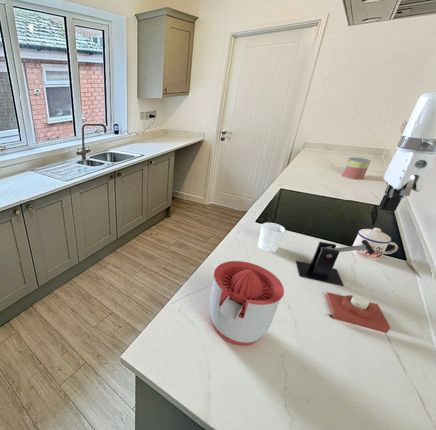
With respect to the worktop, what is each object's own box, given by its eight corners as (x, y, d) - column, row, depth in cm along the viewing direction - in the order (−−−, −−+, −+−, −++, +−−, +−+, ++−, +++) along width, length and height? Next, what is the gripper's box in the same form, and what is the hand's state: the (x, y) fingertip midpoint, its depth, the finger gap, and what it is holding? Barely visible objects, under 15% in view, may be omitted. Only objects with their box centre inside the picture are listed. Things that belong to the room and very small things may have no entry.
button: (364, 302, 74) (366, 297, 74) (368, 311, 72) (371, 306, 71) (348, 298, 76) (350, 294, 75) (352, 307, 73) (354, 302, 72)
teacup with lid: (352, 258, 99) (365, 231, 93) (346, 246, 106) (358, 220, 100) (394, 267, 93) (411, 239, 88) (386, 253, 101) (400, 227, 95)
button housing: (374, 309, 77) (380, 299, 75) (386, 333, 69) (393, 322, 68) (324, 297, 81) (329, 287, 79) (331, 318, 74) (336, 308, 72)
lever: (368, 244, 83) (366, 238, 82) (375, 254, 78) (374, 248, 77) (320, 250, 89) (319, 244, 89) (324, 259, 85) (323, 253, 84)
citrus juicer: (190, 331, 71) (200, 273, 62) (220, 298, 82) (232, 244, 73) (250, 371, 61) (272, 309, 52) (275, 327, 72) (296, 269, 63)
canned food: (344, 173, 187) (351, 156, 182) (365, 176, 180) (372, 159, 174) (340, 176, 181) (346, 159, 176) (361, 180, 173) (368, 162, 168)
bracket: (335, 272, 92) (348, 243, 86) (342, 288, 85) (356, 258, 79) (295, 263, 96) (305, 236, 91) (298, 278, 89) (309, 249, 84)
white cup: (266, 256, 101) (273, 233, 96) (251, 245, 108) (257, 224, 103) (283, 252, 103) (290, 230, 98) (267, 242, 110) (273, 221, 105)
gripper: (458, 152, 59) (417, 223, 67) (423, 140, 71) (392, 201, 79) (413, 149, 62) (379, 218, 70) (387, 138, 74) (361, 197, 82)
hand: (386, 209), depth 75 cm, fingers closed
